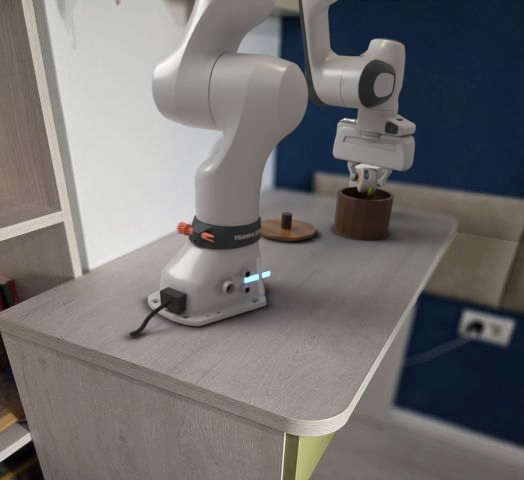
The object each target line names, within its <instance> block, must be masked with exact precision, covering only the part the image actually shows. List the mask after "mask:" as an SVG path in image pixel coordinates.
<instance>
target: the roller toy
mask: <svg viewBox="0 0 524 480" xmlns="http://www.w3.org/2000/svg"><path fill="white" fill-rule="evenodd" d="M377 179H378V172H377V170H376V169H375V168H361V169H360V171H359V175H358V179H357V181H358V183H357V189H358V192H360V193H368V195H371V194H372V193H374V192H375V190H376V185H377Z"/></svg>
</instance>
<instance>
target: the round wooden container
mask: <svg viewBox="0 0 524 480" xmlns="http://www.w3.org/2000/svg"><path fill="white" fill-rule="evenodd" d="M394 199H395V194H394V193H393V192H391V191H389V190H386V189H384V188H383V189H382V188H381V189H379V188H376V190H375V192H374V193H372V194H371V195H368V193H360V192H358V189H357V186H353V187H349V186H344V187H341V188H339V190H337V195H336V202H335V203H336V205H335V212H334V221H333V230H334V232H335V233H336V234H338V235H340V236H342V237H344V238H347V239H352V240H353V239H354V240H359V241H362V240H363V241H375V240H376V241H377V240H380V239H384V238H385V237H387V235H388V233H389V228H390V224H391V217H392V212H393V206H394Z"/></svg>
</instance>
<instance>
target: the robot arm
mask: <svg viewBox="0 0 524 480" xmlns="http://www.w3.org/2000/svg"><path fill="white" fill-rule="evenodd" d="M275 1H276V0H194V5H193V7H192V11H191V13H190V16H189V18H188V21H187V23H186V25H185V28H184V30H183V31H182V33H181V35H180V37H179V38H178V40H177V41H176V42H175V44H174V45H173V46H172V47H171V49H170V50H169V51H167V52H166V54H164V55H163V56H162V57H161V58H160V59H159V60H158V61H157V63H156V65H155V66H154V69H153V73H152V76H151V93H152V98H153V102H154V104H155V106H156V108H157V111H158V112H159V113H160V115H161V116H163V117H164V118H165V119H167V120H169V121H171V122H174V123H176V124H179V125H182V126H185V127H187V128H192V129H200V130H209V131H215V132H216V131H217V132H222V142H221V146H220V149H219V151H218V152H217V153H216V154H213V155H211V156H209V157H208V158H206V159H204V161H202V162H201V163H200V164H199V166H198V168H197V169H196V171H195V174H194V197H195V199H194V201H195V203H194V204H195V215H194V216H193V219H192V222H191V224H189V223H186V222H184V221H180V222H178V223H177V225H176V231H177V232H178V234H180V235H184V236H186V237H187V239H188V240H187V241H186V243H185V244H184V245H183V246H182V247H181V248H180V249H179V251H178V252H177V253H176V254H175V255H174V256H173V257H172V258H171V260H170V261H169V262H168V263H167V264H166V265H165V266H164V267H163V268H162V270H161V274H160V282H159V289H158V290H156V291H154V292H152V293H151V294H148V296H147V304H148V306H149V308H150V309H152V311H151V312H150V313H149V314H148V315H147V316H146V317H145V318H144V320H143V322H142V323H141V325H140V326H139V327H138V328H137V329H136V330H133V331H131V332H129V336H130V337H131V338H132V337H135V336H137V335H139V334H141V333H142V332H144V330H145V329H146V327H147V325H148V324H149V322H150V321H151V319H152V318H153V317H155V315H157V314H158V315H159V316H161V317H164V318H165V319H168V320H170V321H172V322H174V323H178V324H181V325H185V326H191V327H202V326H205V325H208V324H212V323H214V322H218V321H221V320H225V319H227V318H231V317H235V316H237V315H241V314H244V313H247V312H250V311H254V310H257V309H260V308H263V307H266V306H267V298H266V295H265V294H266V288H265V285H264V284H265V283H264V278H267V277H270V276H271V270H268V271H264V272H263V265H262V257H261V251H260V243H259V242H260V240H261V237H262V235H261V230H262V227H261V222H262V218H261V216H260V202H261V201H260V200H261V190H262V189H261V188H262V180H263V174H264V170H265V167H266V165H267V162H268V159H269V157H270V156H271V154H272V152H273V151H274V149H275V148H276V146H277V145H278V144H279V143H280V142H281V141H282V140H283V139H285V137H287V136H288V135H290V134H291V133H292V132H294V130H296V129H297V127H298V126H299V125H300V123H302V120H303V119H304V116H305V114H306V111H307V108H308V102H309V100H310V101H311V102H312V103H313V104H314V105H316V106H319V107H333V106H334V107H339V108H347V109H348V108H349V109H358V110H357V118H349V117H343V118H342V119H341V120H339V121H338V122H337V125H336V126H337V127H336V135H335V138H334V143H333V148H332V155H333V157H334V159H337V160H343V161H347V168H348V171H349V181H350V180H351V181H357V179H358V175H359V173H357V172H356V168H355V166H356V165H358V164H367V165H372V166H377V167H382V168H383V176H382V178H380V179H377V185H376V186H378V187H381V188H385V187H386V183H387V180H388V178H389V177H390V175H391V174H392V173H393V170H394V171H398V172H405V171H408V170H409V169H410V168H411V167H413V163H414V158H415V157H414V156H415V149H416V144H415V143H416V141H415V138H414V136H413V134H415V132H416V128H417V125H416V124H415V123H414V122H412V121H410V120H408V119H406V118H405V117H403V116H402V115H400V114H398V112H399V96H400V93H401V91H402V87H403V81H404V76H405V66H406V65H405V64H406V47H405V45H404V44H403V43H402V42H401V41H399V40H396V39H391V38H387V37H386V38H385V37H376V38H374V39H372V40H370V42H369V45H368V48H367V50H366V51H365V52H363V53H362V54H360V55H359V56H358V55H357V56H356V55H355V56H352V55H339V54H337V53H336V52H334V51H333V50H332V48H331V38H330V25H329V9H330V6H331V5H332V4H334V3H336V2H338V1H339V0H298V12H299V21H300V29H301V39H302V46H303V47H302V48H303V56H304V57H303V58H304V73H303V71H302V70H301V68H300V67H299V65H298V64H297V63H296V62H292V61H290V60H287V59H284V58H282V57H281V58H280V57H278V56H274V55H270V54H264V53H249V52H248V53H247V52H246V53H245V52H238V50H239V47H240V46H241V43H242V42H243V40H244V39H245V38H246V36H247V35H248V34H249V32H251V31H252V30H253V29H255V28H256V27H258V26H260V25H261V24H263V23H264V22H265V21H266V20H267V19H268V17H269V16H270V15H271V13H272V10H273V8H274V5H275Z"/></svg>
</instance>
